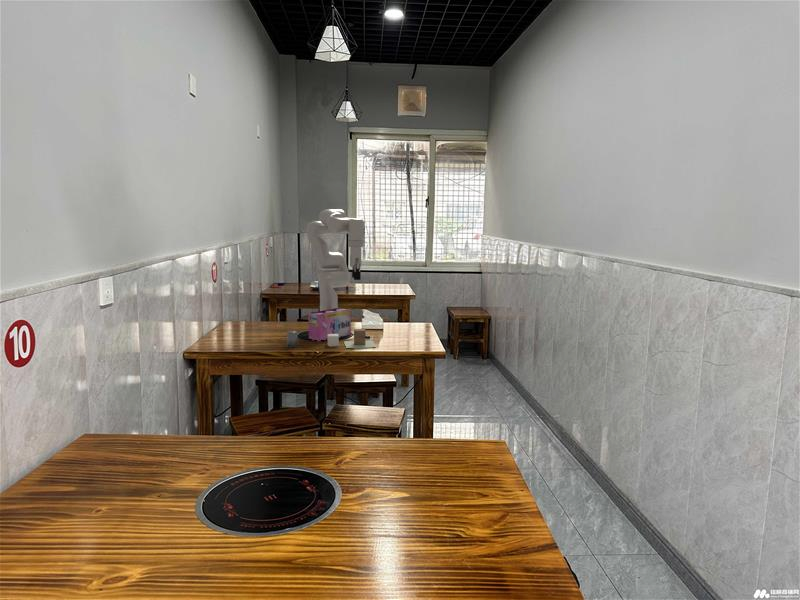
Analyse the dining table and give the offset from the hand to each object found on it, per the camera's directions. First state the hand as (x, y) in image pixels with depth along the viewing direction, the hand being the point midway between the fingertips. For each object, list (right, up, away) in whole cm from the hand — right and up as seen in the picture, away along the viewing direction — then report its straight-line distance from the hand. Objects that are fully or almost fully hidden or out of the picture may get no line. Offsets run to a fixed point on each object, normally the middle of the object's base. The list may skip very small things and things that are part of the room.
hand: (356, 278), depth 276 cm
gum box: (-14, -30, +8) cm, 34 cm away
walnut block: (+2, -32, -10) cm, 33 cm away
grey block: (-10, -32, -10) cm, 35 cm away
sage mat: (+3, -32, -10) cm, 34 cm away
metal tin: (-29, -32, -14) cm, 45 cm away
